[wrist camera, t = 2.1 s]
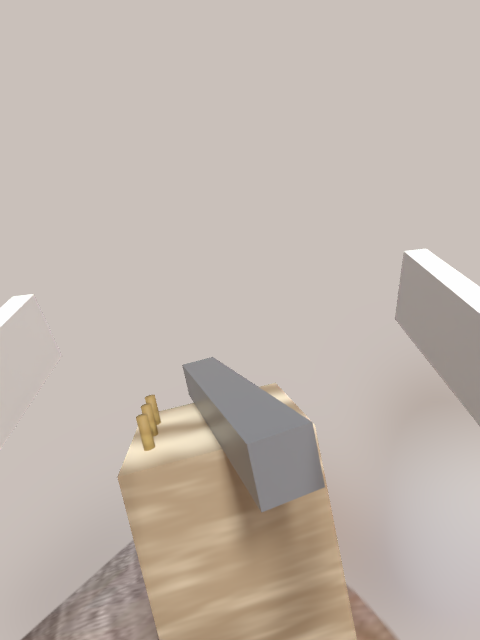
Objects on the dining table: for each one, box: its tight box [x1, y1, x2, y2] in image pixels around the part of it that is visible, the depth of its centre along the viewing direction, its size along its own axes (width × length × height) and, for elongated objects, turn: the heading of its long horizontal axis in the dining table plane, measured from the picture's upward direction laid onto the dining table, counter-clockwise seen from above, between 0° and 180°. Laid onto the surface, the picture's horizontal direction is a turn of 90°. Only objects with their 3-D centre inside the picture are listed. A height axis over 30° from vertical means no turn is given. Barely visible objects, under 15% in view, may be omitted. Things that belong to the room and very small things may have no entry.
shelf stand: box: [118, 383, 357, 640], centre depth 37 cm, size 14×16×41 cm
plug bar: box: [183, 357, 325, 512], centre depth 33 cm, size 27×4×4 cm, turn 17°
